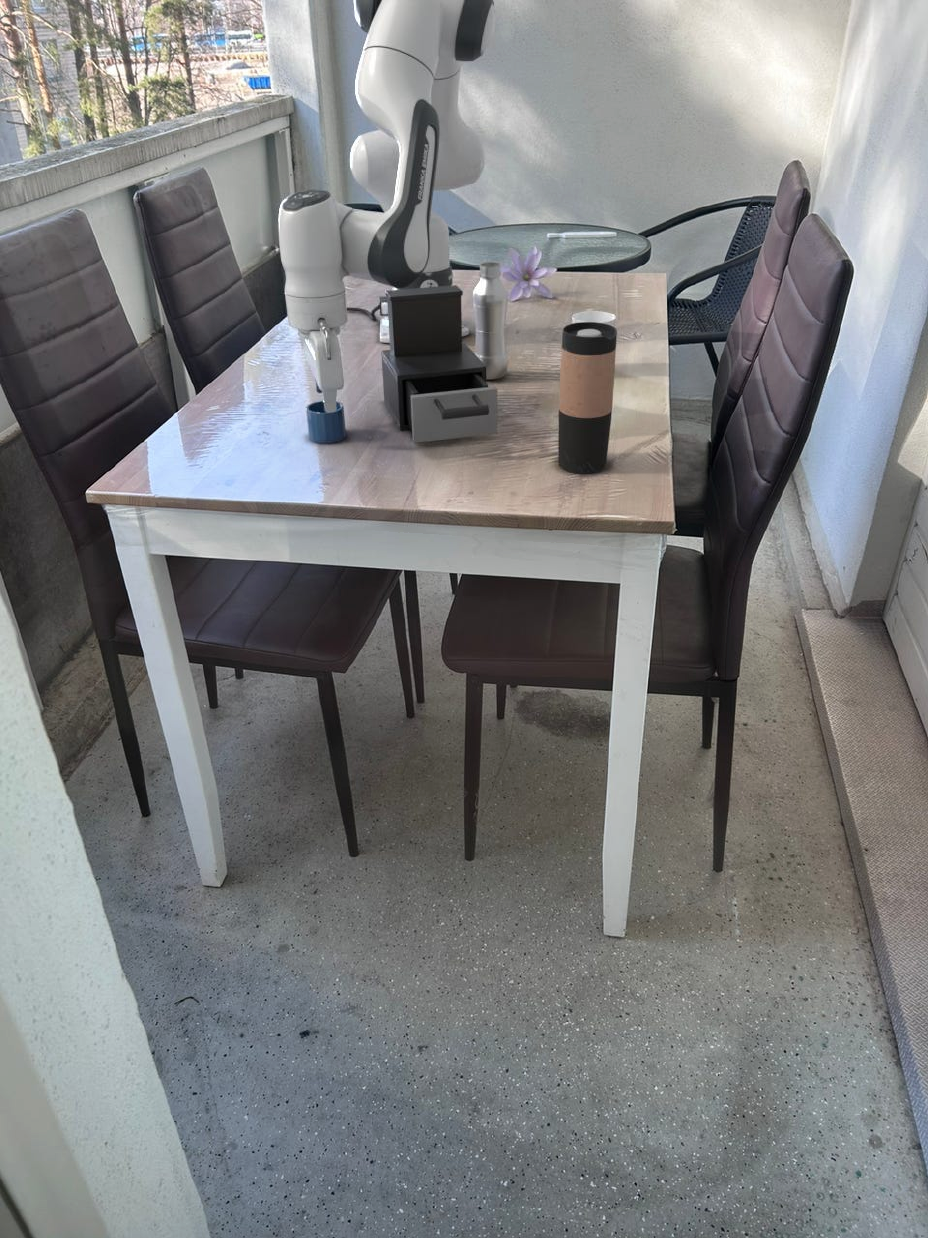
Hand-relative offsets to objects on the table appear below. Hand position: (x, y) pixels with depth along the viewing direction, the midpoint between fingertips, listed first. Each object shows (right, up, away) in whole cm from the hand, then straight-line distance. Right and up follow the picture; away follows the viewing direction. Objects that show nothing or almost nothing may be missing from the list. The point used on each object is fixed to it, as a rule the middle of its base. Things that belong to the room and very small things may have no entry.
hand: (325, 400), depth 149 cm
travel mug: (+39, -11, -7) cm, 41 cm away
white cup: (+45, +12, +29) cm, 55 cm away
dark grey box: (+17, +1, +12) cm, 21 cm away
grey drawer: (+20, -4, +2) cm, 20 cm away
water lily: (+36, +42, +75) cm, 93 cm away
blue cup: (0, -5, +4) cm, 6 cm away
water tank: (+15, +11, +11) cm, 22 cm away
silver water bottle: (+26, +10, +27) cm, 39 cm away
